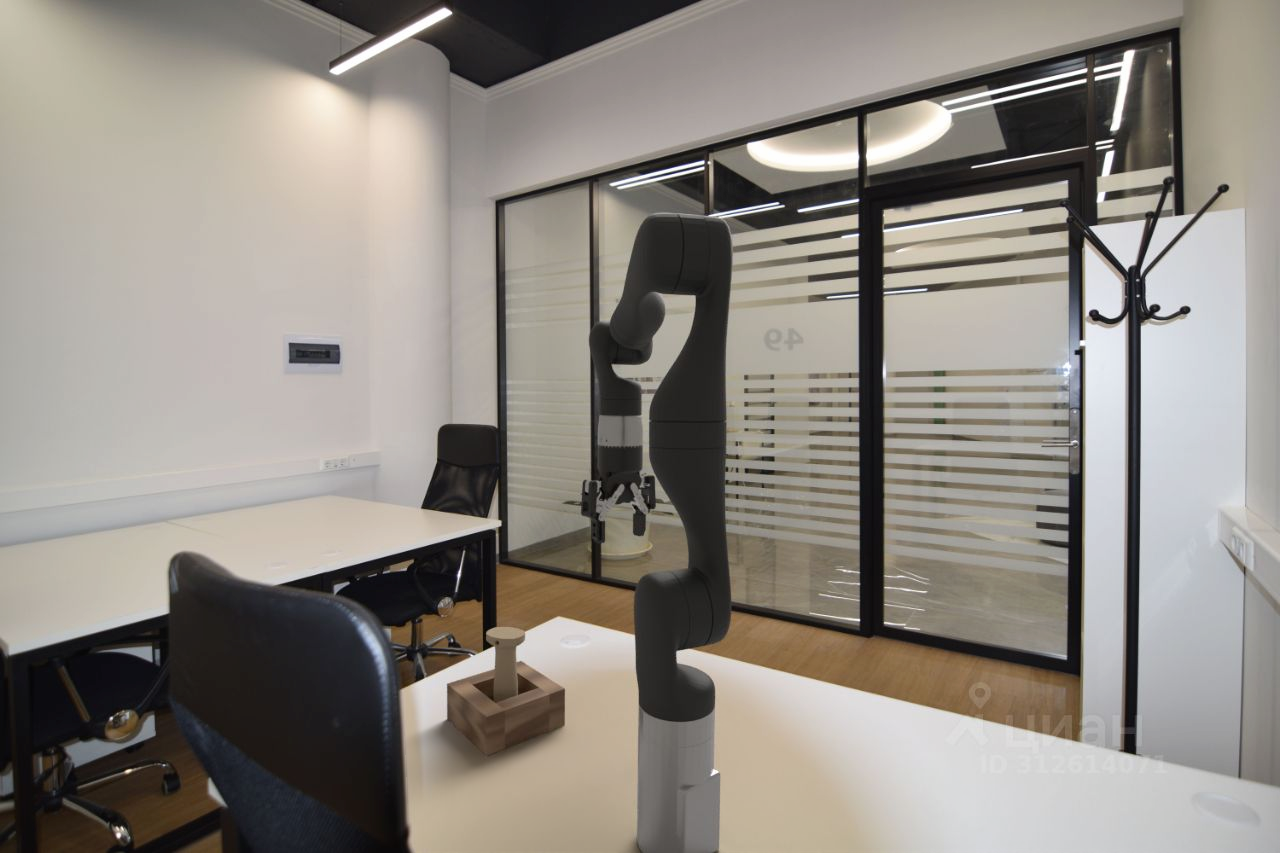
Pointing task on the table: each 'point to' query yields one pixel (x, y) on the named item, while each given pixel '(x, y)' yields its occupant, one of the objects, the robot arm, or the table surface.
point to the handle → (505, 660)
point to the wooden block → (505, 709)
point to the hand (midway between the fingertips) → (619, 539)
